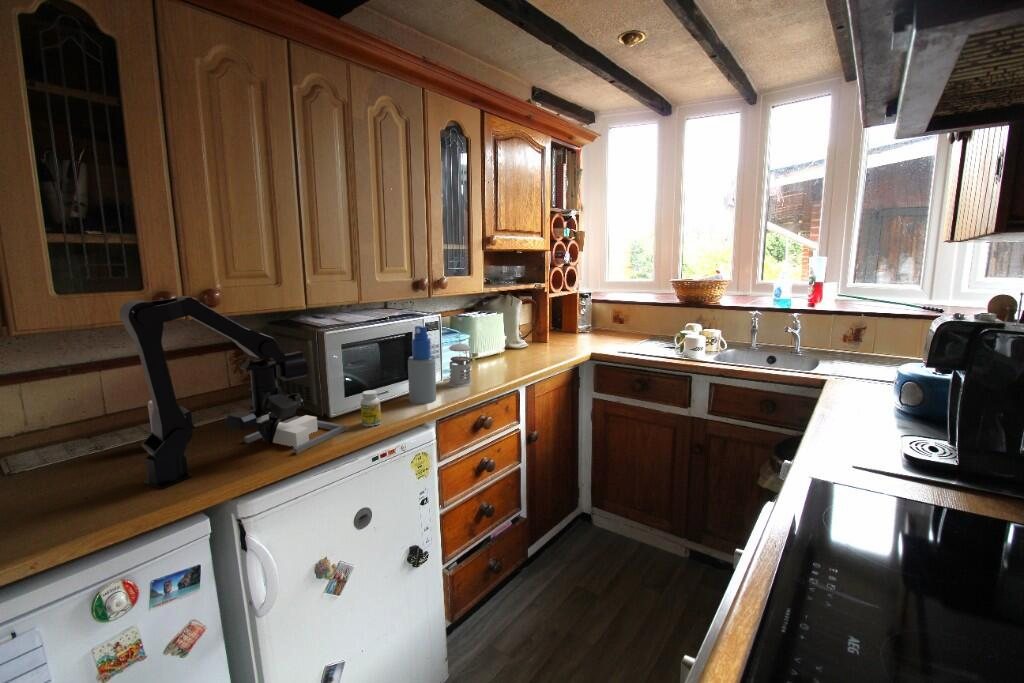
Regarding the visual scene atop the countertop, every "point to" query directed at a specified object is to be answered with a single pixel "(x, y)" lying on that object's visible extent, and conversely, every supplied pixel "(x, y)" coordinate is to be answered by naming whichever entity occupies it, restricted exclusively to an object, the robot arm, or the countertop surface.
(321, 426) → the grey rectangular rod frame
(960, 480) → the countertop surface
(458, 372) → the french press
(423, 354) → the spray bottle
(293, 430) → the t block
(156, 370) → the robot arm
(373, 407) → the supplement bottle
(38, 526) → the countertop surface
